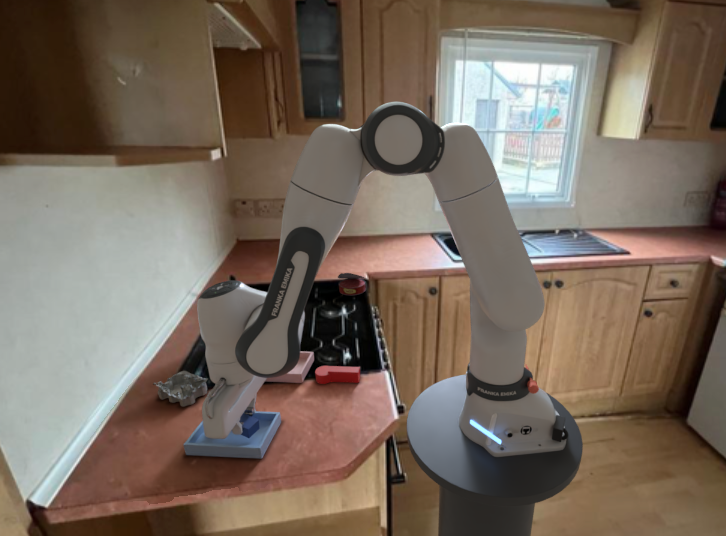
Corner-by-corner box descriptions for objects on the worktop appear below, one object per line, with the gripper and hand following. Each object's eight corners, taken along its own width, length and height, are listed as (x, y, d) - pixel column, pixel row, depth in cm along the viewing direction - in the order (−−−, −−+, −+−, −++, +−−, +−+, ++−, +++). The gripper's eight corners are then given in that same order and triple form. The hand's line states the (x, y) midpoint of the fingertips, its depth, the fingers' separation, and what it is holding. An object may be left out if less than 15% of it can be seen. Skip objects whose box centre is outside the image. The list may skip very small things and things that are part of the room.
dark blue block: (249, 442, 81) (259, 432, 84) (248, 425, 80) (258, 415, 82) (207, 422, 85) (218, 413, 87) (205, 406, 83) (216, 397, 86)
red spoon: (361, 374, 104) (360, 364, 103) (357, 385, 100) (357, 375, 99) (318, 373, 105) (317, 363, 104) (313, 383, 101) (312, 373, 100)
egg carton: (154, 397, 96) (150, 383, 95) (183, 380, 102) (179, 366, 101) (185, 410, 92) (181, 394, 90) (213, 391, 98) (210, 376, 97)
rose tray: (314, 360, 111) (313, 351, 110) (302, 383, 101) (301, 374, 100) (259, 358, 112) (258, 349, 111) (242, 380, 102) (240, 371, 101)
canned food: (339, 302, 155) (328, 279, 154) (359, 292, 162) (348, 269, 161) (355, 297, 147) (343, 272, 146) (375, 286, 154) (363, 262, 153)
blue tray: (281, 421, 88) (280, 412, 87) (262, 458, 79) (260, 448, 78) (213, 418, 89) (211, 409, 88) (185, 455, 80) (183, 444, 79)
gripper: (222, 400, 68) (235, 464, 73) (271, 337, 87) (279, 392, 92) (185, 398, 68) (201, 462, 73) (242, 336, 87) (251, 391, 92)
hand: (245, 422), depth 82 cm, fingers closed on dark blue block, 4 cm apart
